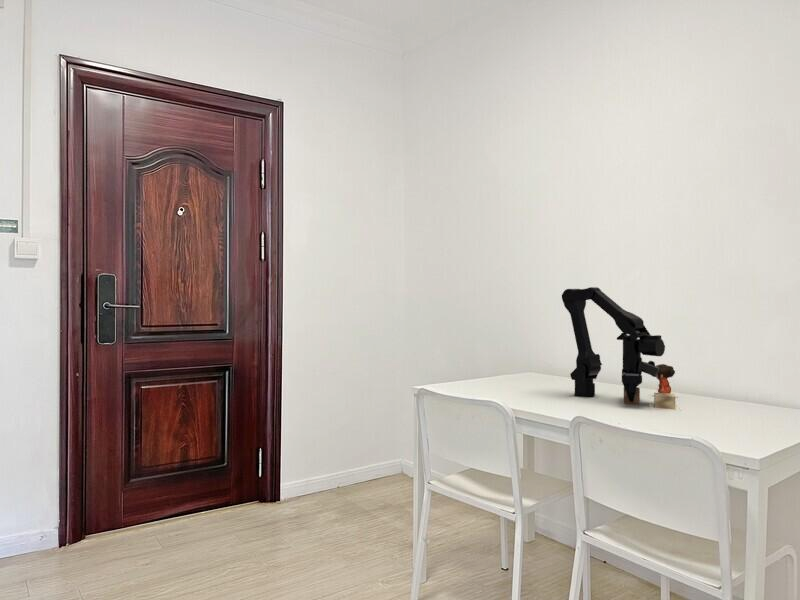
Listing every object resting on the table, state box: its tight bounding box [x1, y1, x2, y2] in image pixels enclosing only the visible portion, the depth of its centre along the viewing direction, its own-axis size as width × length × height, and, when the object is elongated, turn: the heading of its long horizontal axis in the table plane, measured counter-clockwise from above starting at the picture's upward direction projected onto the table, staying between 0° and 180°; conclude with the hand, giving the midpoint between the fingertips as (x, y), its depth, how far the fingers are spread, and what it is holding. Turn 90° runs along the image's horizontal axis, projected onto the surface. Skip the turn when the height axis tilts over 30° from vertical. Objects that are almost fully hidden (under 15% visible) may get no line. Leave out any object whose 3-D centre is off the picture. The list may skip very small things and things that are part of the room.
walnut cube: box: [623, 386, 641, 406], centre depth 205 cm, size 5×5×5 cm
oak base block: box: [653, 392, 676, 410], centre depth 197 cm, size 6×6×4 cm
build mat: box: [648, 403, 682, 412], centre depth 200 cm, size 22×15×1 cm
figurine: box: [655, 363, 676, 394], centre depth 217 cm, size 6×6×12 cm
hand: (631, 400), depth 205 cm, fingers open, 5 cm apart
